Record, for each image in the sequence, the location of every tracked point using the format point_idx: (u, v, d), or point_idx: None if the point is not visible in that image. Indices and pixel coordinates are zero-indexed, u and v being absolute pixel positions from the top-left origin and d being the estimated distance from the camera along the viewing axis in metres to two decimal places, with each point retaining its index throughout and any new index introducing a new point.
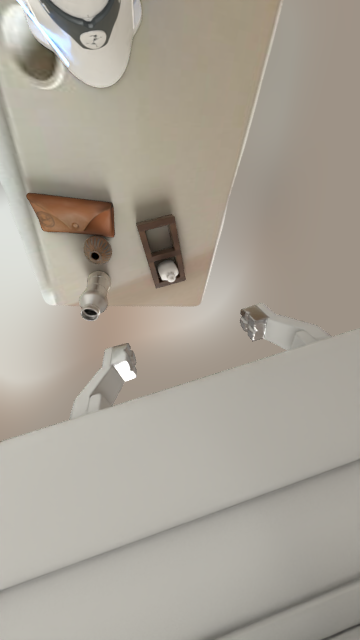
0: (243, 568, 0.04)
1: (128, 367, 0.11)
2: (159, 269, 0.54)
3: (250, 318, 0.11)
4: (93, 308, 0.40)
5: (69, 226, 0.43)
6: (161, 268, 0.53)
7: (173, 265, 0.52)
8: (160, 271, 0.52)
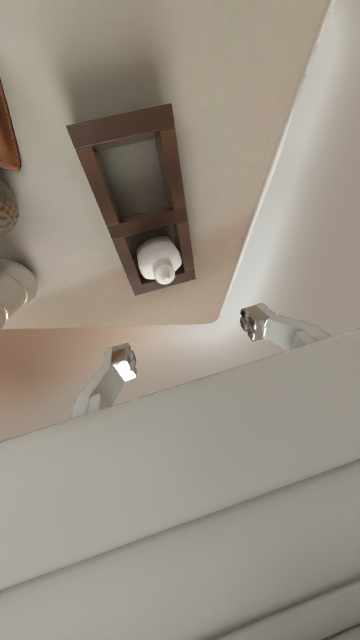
0: (243, 568, 0.04)
1: (128, 367, 0.11)
2: (139, 255, 0.24)
3: (250, 318, 0.11)
4: None
5: None
6: (143, 252, 0.24)
7: (170, 245, 0.23)
8: (140, 259, 0.23)
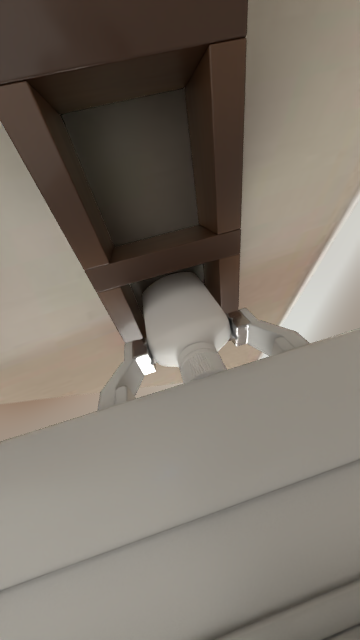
0: (243, 568, 0.04)
1: (149, 361, 0.11)
2: (148, 314, 0.13)
3: (232, 323, 0.11)
4: None
5: None
6: (156, 311, 0.13)
7: (208, 301, 0.12)
8: (151, 328, 0.12)
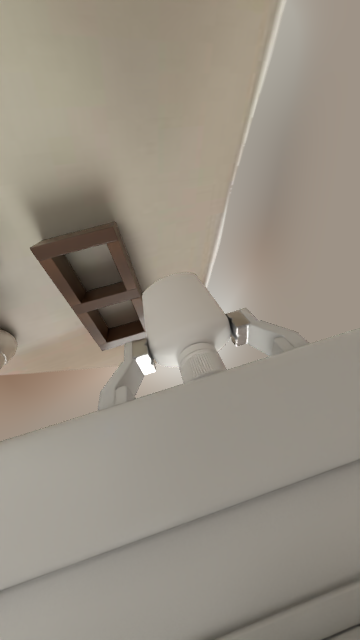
0: (243, 568, 0.04)
1: (149, 361, 0.11)
2: (148, 315, 0.13)
3: (232, 323, 0.11)
4: None
5: None
6: (156, 311, 0.13)
7: (208, 302, 0.12)
8: (151, 329, 0.12)
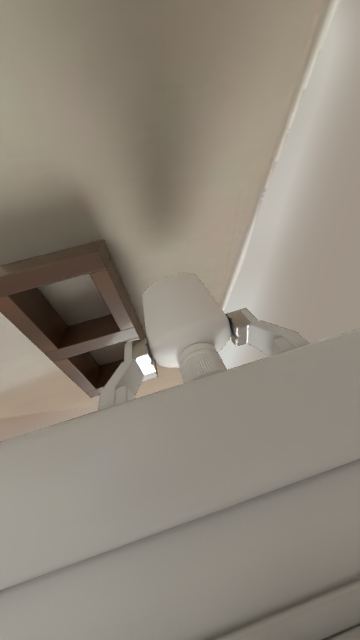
0: (243, 568, 0.04)
1: (149, 361, 0.11)
2: (148, 315, 0.13)
3: (232, 323, 0.11)
4: None
5: None
6: (156, 311, 0.13)
7: (208, 302, 0.12)
8: (151, 329, 0.12)
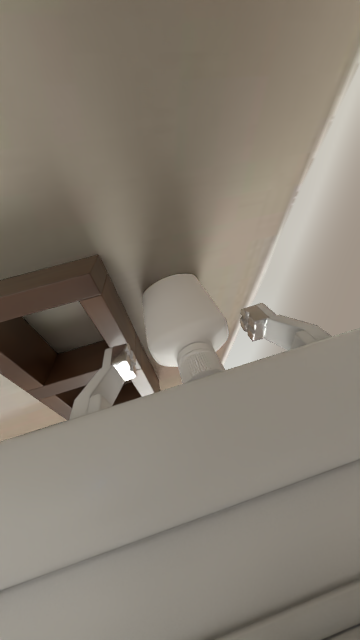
0: (243, 568, 0.04)
1: (128, 367, 0.11)
2: (148, 315, 0.14)
3: (250, 318, 0.11)
4: None
5: None
6: (156, 312, 0.13)
7: (206, 303, 0.12)
8: (151, 329, 0.12)
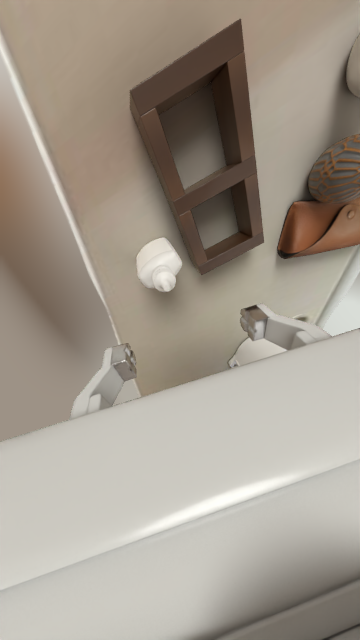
0: (243, 568, 0.04)
1: (128, 367, 0.11)
2: None
3: (250, 318, 0.11)
4: None
5: (359, 210, 0.27)
6: None
7: None
8: None
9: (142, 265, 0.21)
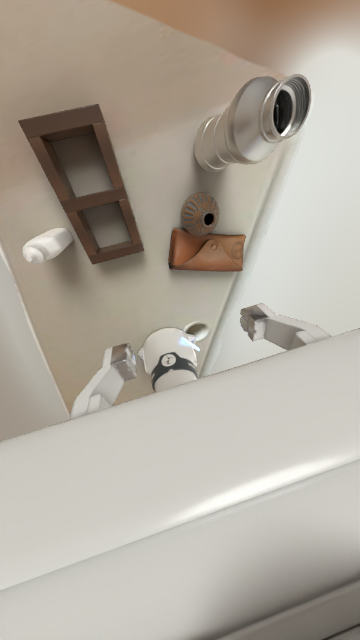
0: (243, 568, 0.04)
1: (128, 367, 0.11)
2: (66, 246, 0.31)
3: (250, 318, 0.11)
4: (269, 130, 0.16)
5: (220, 245, 0.38)
6: None
7: None
8: (63, 249, 0.29)
9: None
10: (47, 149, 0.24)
